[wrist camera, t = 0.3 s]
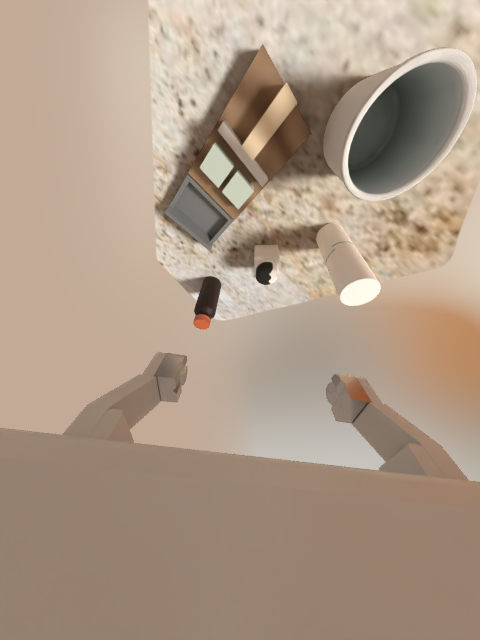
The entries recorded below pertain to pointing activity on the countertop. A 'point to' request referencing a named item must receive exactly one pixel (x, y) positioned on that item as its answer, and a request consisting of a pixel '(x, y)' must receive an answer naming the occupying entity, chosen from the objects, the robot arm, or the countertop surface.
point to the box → (198, 213)
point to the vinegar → (207, 302)
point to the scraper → (260, 132)
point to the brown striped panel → (242, 118)
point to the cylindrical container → (346, 266)
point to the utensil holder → (400, 123)
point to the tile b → (238, 189)
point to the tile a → (217, 165)
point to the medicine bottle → (266, 263)
